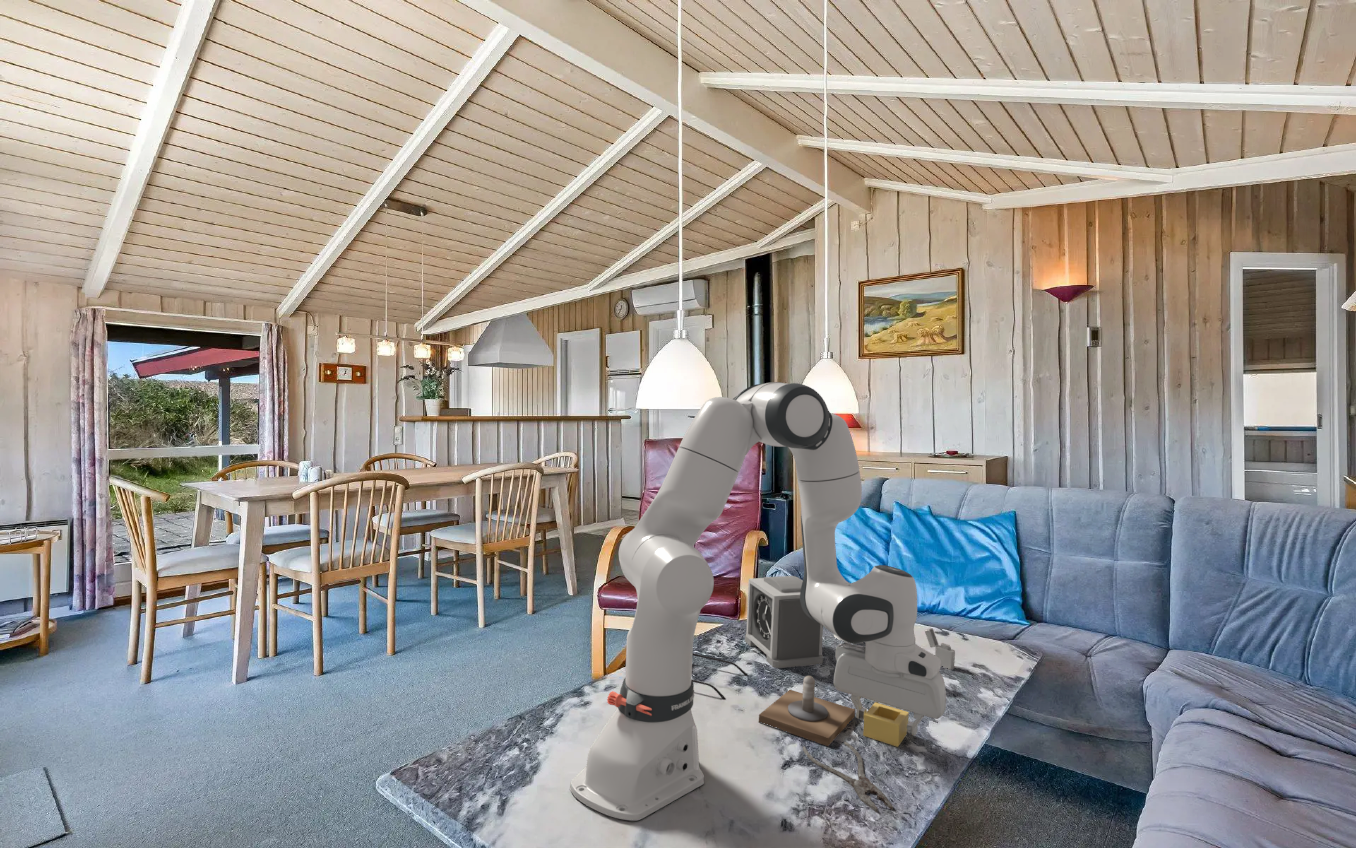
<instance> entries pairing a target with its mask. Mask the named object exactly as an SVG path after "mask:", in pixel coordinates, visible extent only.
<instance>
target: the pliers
mask: <svg viewBox="0 0 1356 848" xmlns="http://www.w3.org/2000/svg"><path fill="white" fill-rule="evenodd" d="M843 744H844V746H846V747H847V748H849V749H850V750H851V751H852V752H853V754H854V755H855V757H856V759H857V777H858V779H856V778H853V777H850V776H848V775H847V774H845V773H843V772H840V771H839V770H837V769H834V768H832V767H831V766H828V765H826V764H824V763H822V762H820V761H819V760H817V759H816V758H814V757H813V755H811V754H810V752H809V751H808V749H807V747H806V746H805V745H804V746H802V751H803V752H804V754H805V756H806V755H807V756H806V757H807V759H809V760H810V761H811V762H812V763H814V764H815V765H816V766H818V767H819V768H821V769H823V770H825V771H827V772H829V773H831V774H833V775H835V776H836V777H838V778H839V779H840V778H841V779H842V780H843V781H845V782H846V783H848V785H850V786H851V788H853V790H854V792H855V793H856V795H857V797H858V798H859V800H860V801H861V802H862V803H863V804H865V805H866V806H867V807H869V809H871V810H872V811H874V813H878V807H877V806H876V804H875V802H873V801H872V797H871V796H870V795H868V794H871V795H875V796H876V799H877V800H878V801H880V802H882V803H883V804H884V805H885V806H886V807H887V808H888V809H890V810H891V811H893V810H894V805H893V804H892V802H891V801H890V800H889V798H888V797H887V796H886V795H885V793H884V792H882V791H881V790H880V789H879V788H878V787H877V786H876V785H875V784H874V783H872V782H871V780H870V779H869V778H868V777H867V776H866V774H865V768H864V760H863V757H862V755H861V754H860V753H859V752H858V751H857V749H856V748H855V747H853V745H852V744H850V743H848V742H847V741H844V743H843Z"/></svg>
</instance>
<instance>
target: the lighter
mask: <svg viewBox="0 0 1356 848" xmlns="http://www.w3.org/2000/svg"><path fill="white" fill-rule="evenodd" d="M924 633H925V636H926V639H927V642H928V644H929V647H930V648H935V652H934V655H935V656H937V657H939V658H940V660H941V666H943V667H942V668H944V667H945V668H944V669H947V668H948V669H947V670H950V669H952V670H954V669H955V662H956V661H955V659H956V658H955V657H956V650H955V649H952V647H951V646H950V644H947V643H944V642H942V643H940V644H939V642H938V639H937V636H936V633H935V631H934V628H933V627H932V628H931V627H930V628H927V629H924Z"/></svg>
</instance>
